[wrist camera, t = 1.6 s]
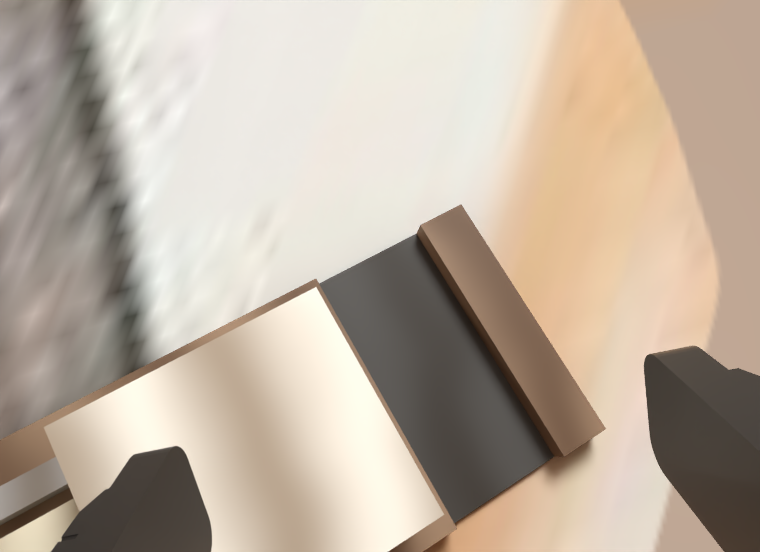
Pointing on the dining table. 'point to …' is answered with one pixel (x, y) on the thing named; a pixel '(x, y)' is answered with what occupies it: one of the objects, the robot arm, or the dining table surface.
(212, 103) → the dining table surface
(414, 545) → the tunnel track
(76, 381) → the dining table surface
